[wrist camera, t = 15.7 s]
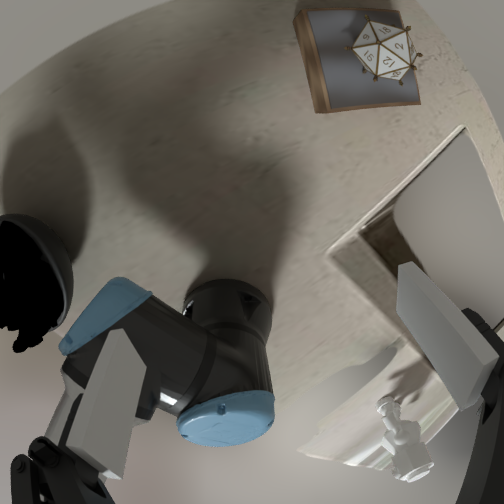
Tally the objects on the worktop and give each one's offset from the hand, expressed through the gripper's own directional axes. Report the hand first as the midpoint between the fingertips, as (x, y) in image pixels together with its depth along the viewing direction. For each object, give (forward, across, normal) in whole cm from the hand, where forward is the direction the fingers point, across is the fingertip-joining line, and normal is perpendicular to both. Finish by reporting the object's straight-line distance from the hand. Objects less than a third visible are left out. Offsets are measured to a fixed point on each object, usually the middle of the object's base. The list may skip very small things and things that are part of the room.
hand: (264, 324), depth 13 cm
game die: (+25, -19, -14) cm, 34 cm away
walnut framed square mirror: (+31, -19, -14) cm, 39 cm away
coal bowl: (+31, +36, +2) cm, 47 cm away
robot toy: (+31, -25, +67) cm, 78 cm away
